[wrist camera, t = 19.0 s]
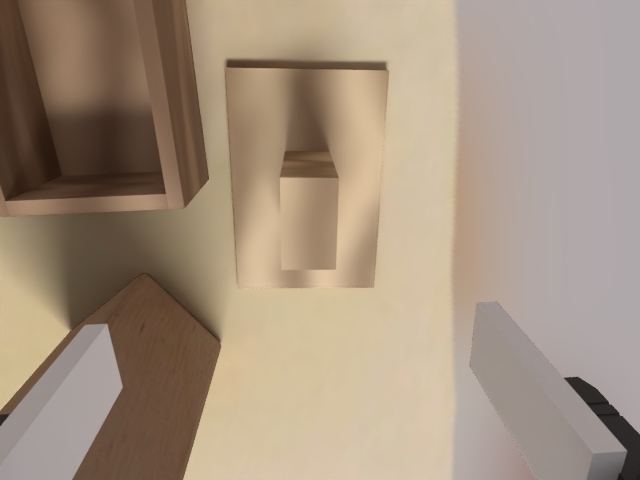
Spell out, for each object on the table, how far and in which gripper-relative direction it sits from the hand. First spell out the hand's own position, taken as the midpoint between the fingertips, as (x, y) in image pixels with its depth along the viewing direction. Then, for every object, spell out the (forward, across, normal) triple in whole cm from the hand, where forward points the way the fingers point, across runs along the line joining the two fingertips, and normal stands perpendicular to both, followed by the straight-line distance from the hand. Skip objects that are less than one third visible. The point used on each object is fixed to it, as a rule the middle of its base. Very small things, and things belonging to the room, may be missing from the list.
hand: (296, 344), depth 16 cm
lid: (+22, +1, 0) cm, 22 cm away
